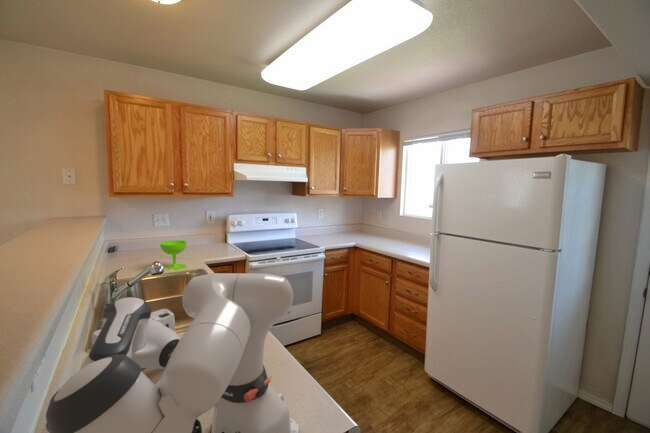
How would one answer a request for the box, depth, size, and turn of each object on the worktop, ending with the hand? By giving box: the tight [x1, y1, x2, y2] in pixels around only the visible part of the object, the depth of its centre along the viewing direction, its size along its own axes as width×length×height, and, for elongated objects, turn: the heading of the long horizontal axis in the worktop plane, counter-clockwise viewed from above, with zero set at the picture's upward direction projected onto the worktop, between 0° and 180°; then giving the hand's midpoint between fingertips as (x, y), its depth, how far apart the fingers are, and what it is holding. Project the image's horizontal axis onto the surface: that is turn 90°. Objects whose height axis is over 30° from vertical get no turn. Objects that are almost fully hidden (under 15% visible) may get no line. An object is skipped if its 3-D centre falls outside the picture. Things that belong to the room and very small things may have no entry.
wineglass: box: [159, 239, 188, 270], centre depth 200 cm, size 16×16×18 cm
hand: (124, 319), depth 93 cm, fingers closed on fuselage, 4 cm apart
